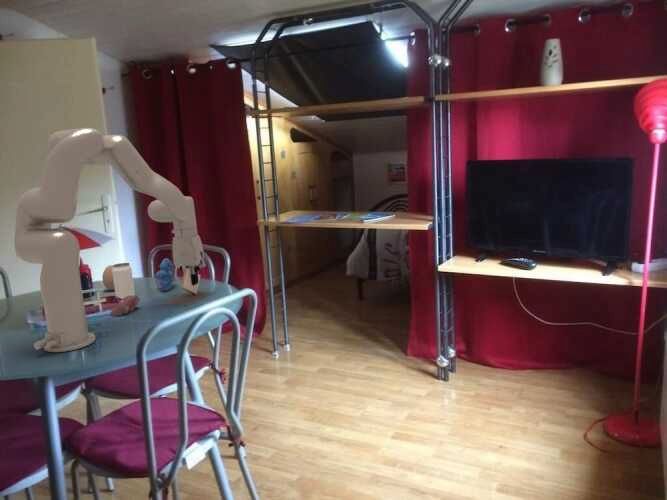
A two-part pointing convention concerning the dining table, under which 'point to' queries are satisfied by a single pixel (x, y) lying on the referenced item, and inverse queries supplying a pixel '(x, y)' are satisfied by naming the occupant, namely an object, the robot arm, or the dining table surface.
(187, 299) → the mat
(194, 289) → the tile
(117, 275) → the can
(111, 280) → the egg
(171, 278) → the grapes
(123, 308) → the red lumpy clump
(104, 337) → the dining table surface
